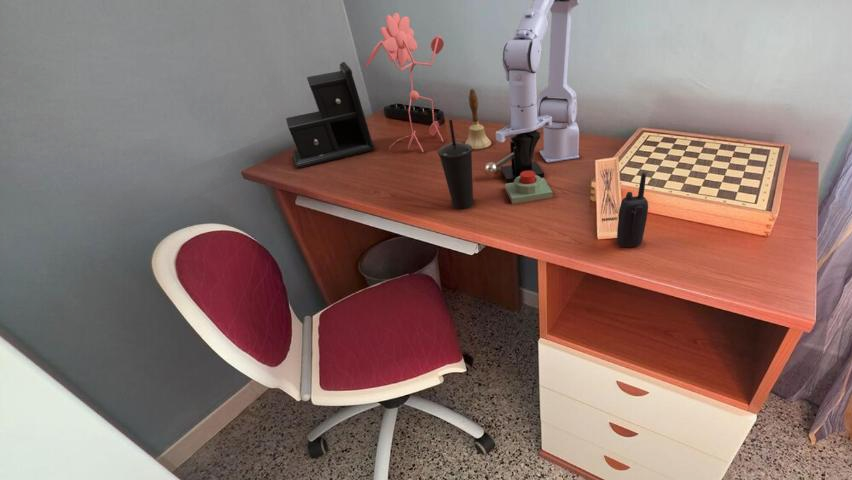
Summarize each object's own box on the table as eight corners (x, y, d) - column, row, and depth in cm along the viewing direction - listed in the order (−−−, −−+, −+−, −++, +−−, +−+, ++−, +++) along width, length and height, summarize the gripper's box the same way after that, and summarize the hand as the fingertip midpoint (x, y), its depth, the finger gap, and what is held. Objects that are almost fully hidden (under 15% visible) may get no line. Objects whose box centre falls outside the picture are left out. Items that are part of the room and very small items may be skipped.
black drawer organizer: (296, 169, 125) (261, 83, 110) (293, 156, 132) (260, 75, 117) (375, 151, 132) (352, 68, 117) (368, 140, 139) (346, 61, 124)
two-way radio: (639, 237, 87) (650, 168, 77) (647, 249, 84) (659, 178, 74) (613, 240, 87) (620, 171, 77) (620, 253, 83) (629, 182, 74)
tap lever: (490, 181, 110) (482, 170, 108) (487, 175, 113) (480, 164, 111) (530, 155, 108) (523, 144, 106) (526, 150, 111) (520, 139, 109)
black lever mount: (506, 183, 109) (504, 152, 104) (500, 170, 115) (498, 140, 110) (544, 177, 110) (543, 146, 105) (536, 165, 117) (535, 135, 111)
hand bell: (496, 141, 132) (491, 86, 121) (481, 151, 126) (474, 95, 116) (475, 137, 135) (468, 84, 125) (459, 147, 130) (451, 92, 120)
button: (533, 177, 104) (533, 169, 103) (537, 183, 101) (536, 175, 100) (519, 179, 104) (518, 171, 102) (522, 186, 101) (522, 178, 100)
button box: (543, 183, 108) (543, 170, 106) (552, 197, 102) (552, 184, 100) (505, 189, 107) (504, 176, 105) (512, 204, 101) (511, 190, 99)
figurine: (462, 133, 139) (445, 6, 116) (405, 163, 123) (373, 23, 101) (428, 126, 146) (406, 5, 123) (370, 153, 130) (333, 20, 108)
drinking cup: (466, 215, 98) (453, 128, 85) (441, 208, 101) (424, 123, 89) (485, 201, 103) (475, 116, 90) (460, 194, 106) (447, 112, 93)
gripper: (537, 92, 97) (538, 150, 105) (485, 107, 90) (491, 167, 99) (558, 98, 92) (557, 158, 101) (504, 114, 86) (509, 177, 95)
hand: (526, 163), depth 100 cm, fingers closed
